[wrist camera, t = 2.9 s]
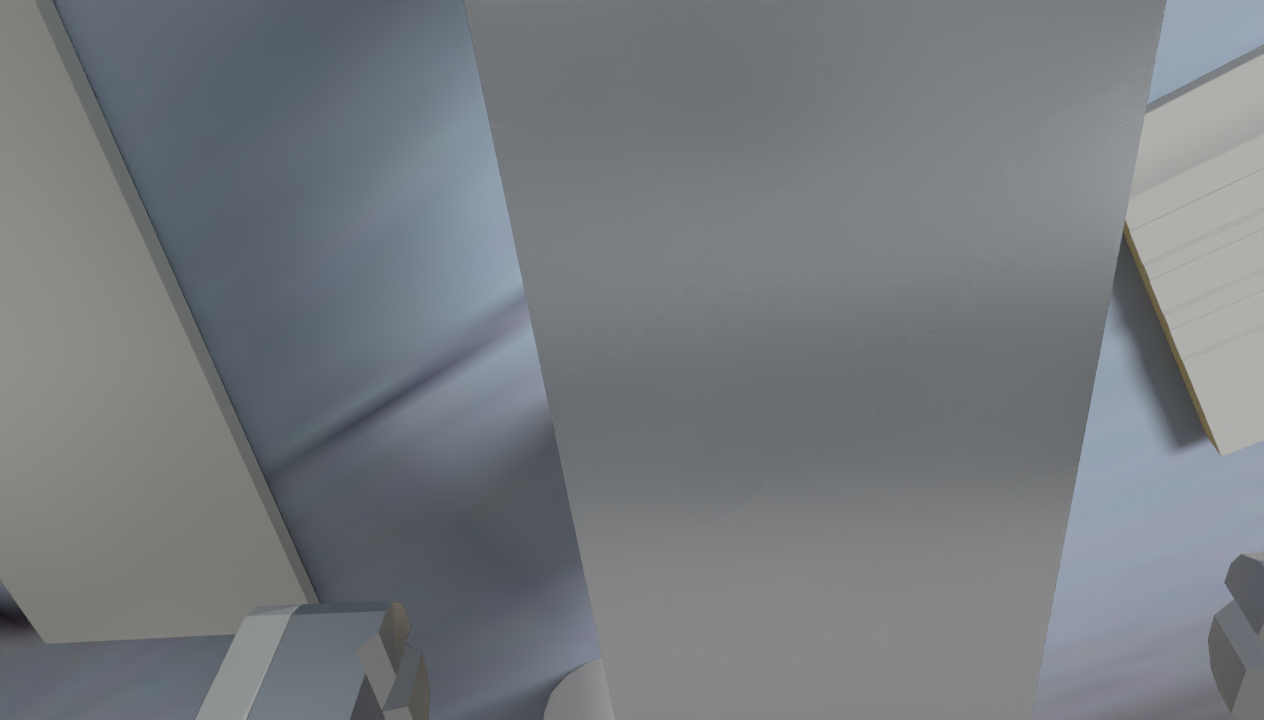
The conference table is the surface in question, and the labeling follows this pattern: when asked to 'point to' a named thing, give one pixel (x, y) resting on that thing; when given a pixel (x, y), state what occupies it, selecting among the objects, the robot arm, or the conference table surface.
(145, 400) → the pale gray flat board
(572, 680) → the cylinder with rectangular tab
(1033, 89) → the rail
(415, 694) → the robot arm
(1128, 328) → the conference table surface
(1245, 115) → the baseboard molding
